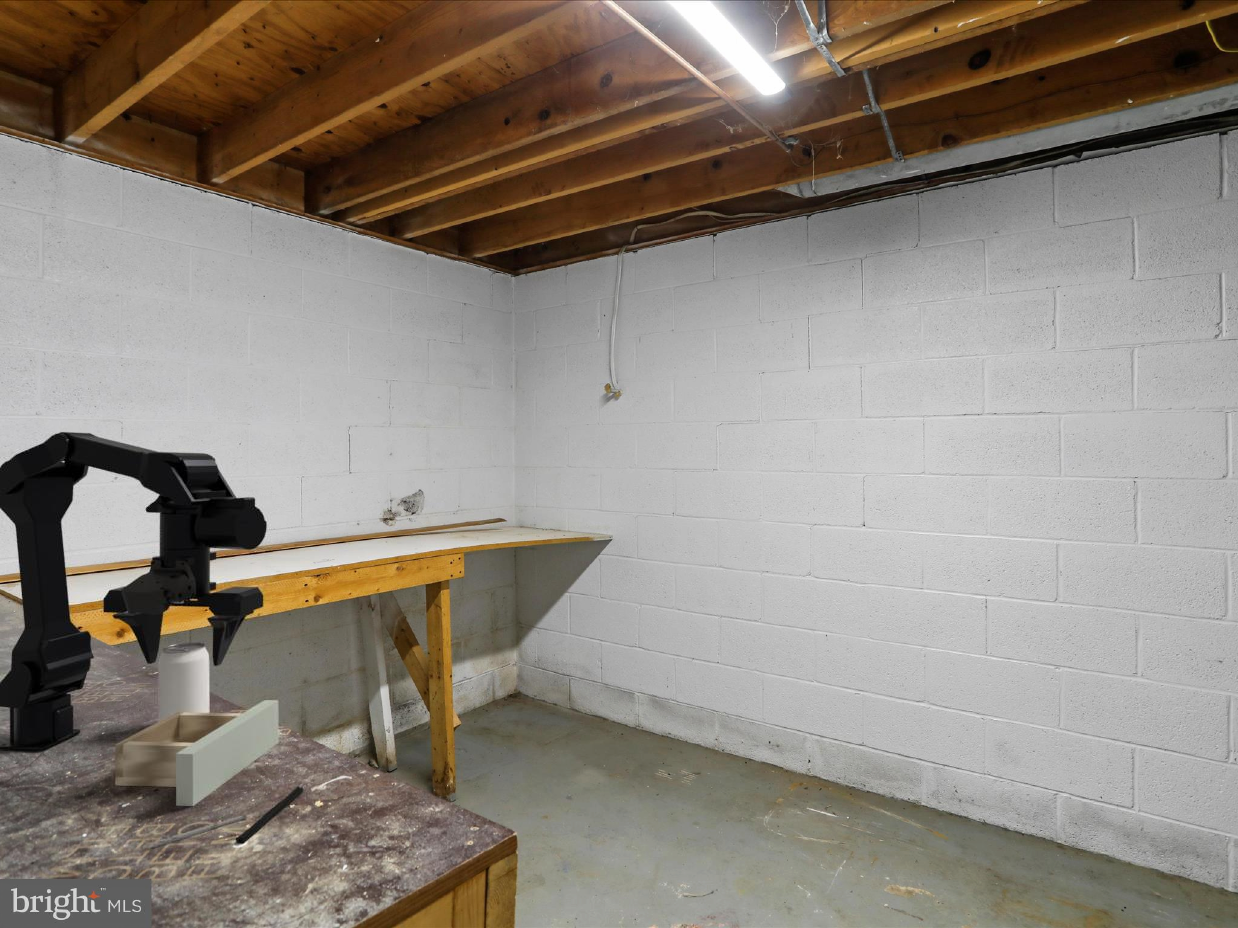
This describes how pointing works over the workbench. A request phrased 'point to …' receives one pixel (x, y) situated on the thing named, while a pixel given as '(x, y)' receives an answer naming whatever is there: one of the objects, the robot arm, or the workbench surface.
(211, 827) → the grey thin rod
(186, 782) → the panel
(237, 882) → the workbench surface
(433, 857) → the workbench surface
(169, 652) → the can
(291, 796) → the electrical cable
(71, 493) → the robot arm
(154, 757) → the wooden drawer box
